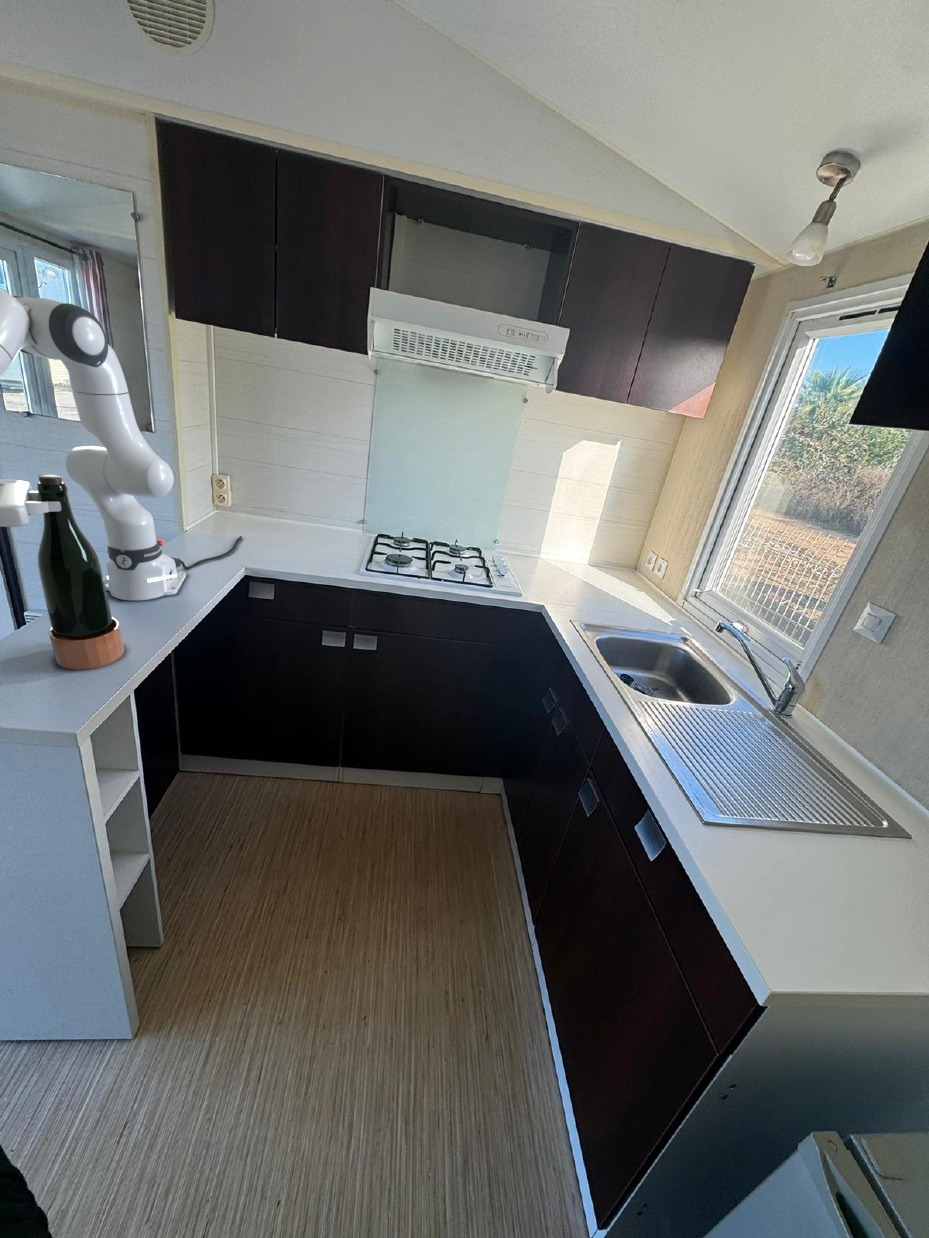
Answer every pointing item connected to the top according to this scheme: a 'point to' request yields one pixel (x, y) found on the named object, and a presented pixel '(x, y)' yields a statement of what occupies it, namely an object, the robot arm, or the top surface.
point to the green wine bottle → (70, 570)
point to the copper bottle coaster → (88, 649)
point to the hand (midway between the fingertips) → (61, 502)
